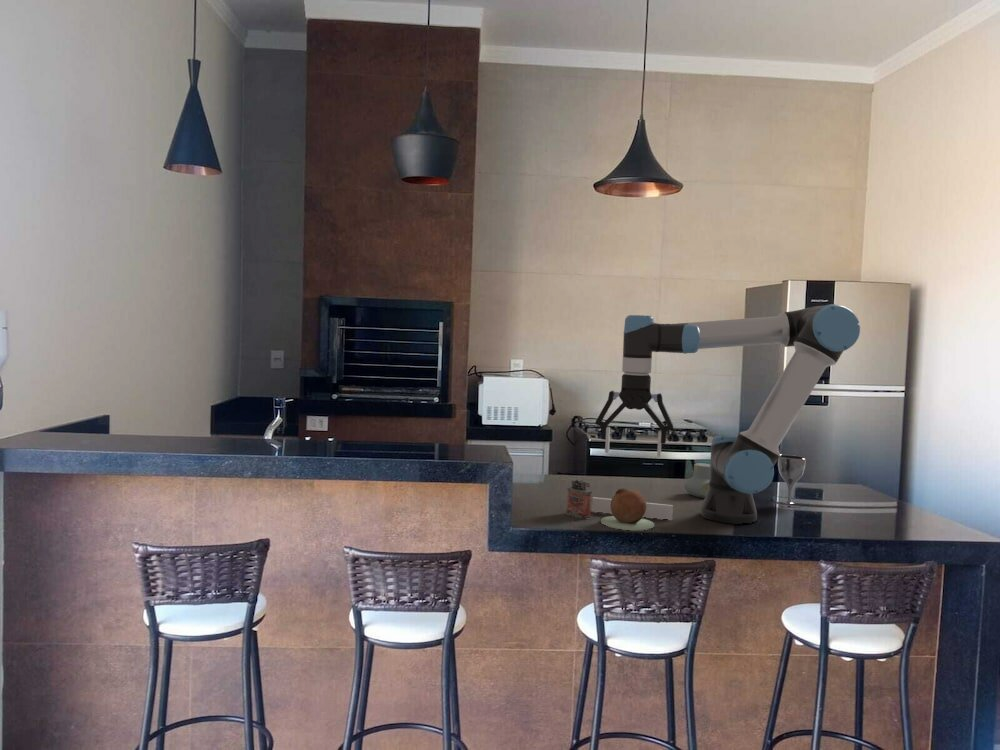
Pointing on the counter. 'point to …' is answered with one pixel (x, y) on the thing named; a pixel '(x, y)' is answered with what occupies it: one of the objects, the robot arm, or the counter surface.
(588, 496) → the lighter
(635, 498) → the onion
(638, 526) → the pad
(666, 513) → the low wall
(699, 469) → the air freshener
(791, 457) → the wine glass
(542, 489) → the counter surface
